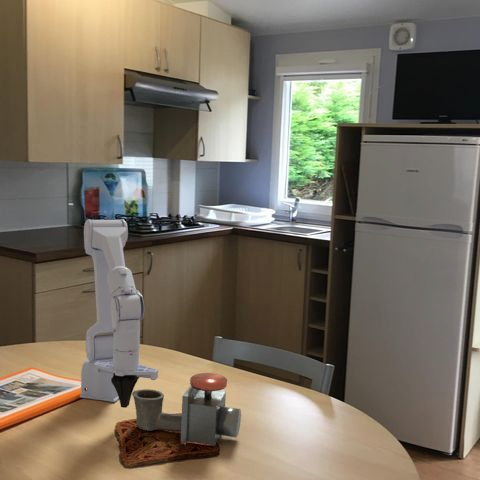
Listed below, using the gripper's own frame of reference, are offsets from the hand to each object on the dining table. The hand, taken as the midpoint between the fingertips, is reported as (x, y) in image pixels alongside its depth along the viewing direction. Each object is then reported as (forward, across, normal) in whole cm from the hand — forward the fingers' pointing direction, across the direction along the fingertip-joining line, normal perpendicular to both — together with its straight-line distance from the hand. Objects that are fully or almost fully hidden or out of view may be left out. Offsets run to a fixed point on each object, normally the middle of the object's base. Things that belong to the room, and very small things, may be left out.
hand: (125, 405), depth 140 cm
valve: (+4, +20, 0) cm, 21 cm away
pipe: (+5, +8, 0) cm, 9 cm away
